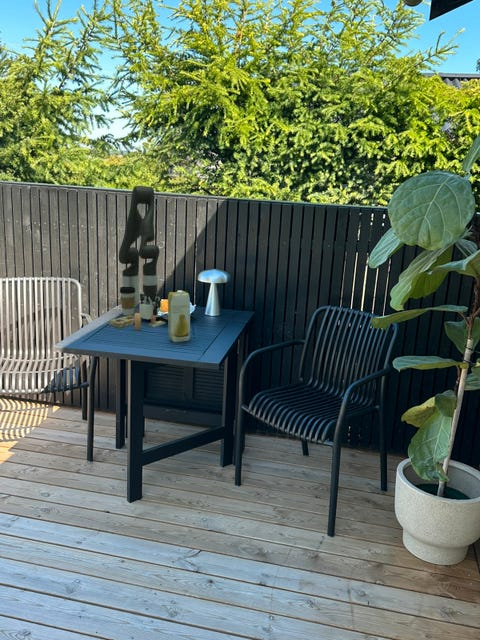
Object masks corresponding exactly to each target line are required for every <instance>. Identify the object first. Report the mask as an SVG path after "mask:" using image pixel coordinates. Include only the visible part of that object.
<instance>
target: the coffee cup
mask: <svg viewBox="0 0 480 640" xmlns="http://www.w3.org/2000/svg"><path fill="white" fill-rule="evenodd" d="M119 293H120V302H121V309H122V315H123V316H130V315H131V316H134V315H135V306H134V303H135V288H134V287H123V286H120V288H119Z"/></svg>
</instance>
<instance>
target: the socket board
mask: <svg viewBox="0 0 480 640" xmlns="http://www.w3.org/2000/svg"><path fill="white" fill-rule="evenodd" d="M108 325H109V326H110V327H114V328H118V329H121V328H125V327H130V326H135V315H125V316H123V317H118V318H114V319H110V320H109V324H108Z"/></svg>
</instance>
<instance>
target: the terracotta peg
mask: <svg viewBox="0 0 480 640" xmlns="http://www.w3.org/2000/svg"><path fill="white" fill-rule="evenodd" d="M134 316H135V324H134V330H135V331H140V330H142V319H141V313H140V312H134Z"/></svg>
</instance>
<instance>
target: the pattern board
mask: <svg viewBox="0 0 480 640" xmlns="http://www.w3.org/2000/svg"><path fill="white" fill-rule="evenodd" d="M165 324H166V322H165V321H162V320H159V321H157V317H156V316H155V315H151V319H150V323H148V326H150V327H153V328H155V327H159V326H162V325H165Z"/></svg>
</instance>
